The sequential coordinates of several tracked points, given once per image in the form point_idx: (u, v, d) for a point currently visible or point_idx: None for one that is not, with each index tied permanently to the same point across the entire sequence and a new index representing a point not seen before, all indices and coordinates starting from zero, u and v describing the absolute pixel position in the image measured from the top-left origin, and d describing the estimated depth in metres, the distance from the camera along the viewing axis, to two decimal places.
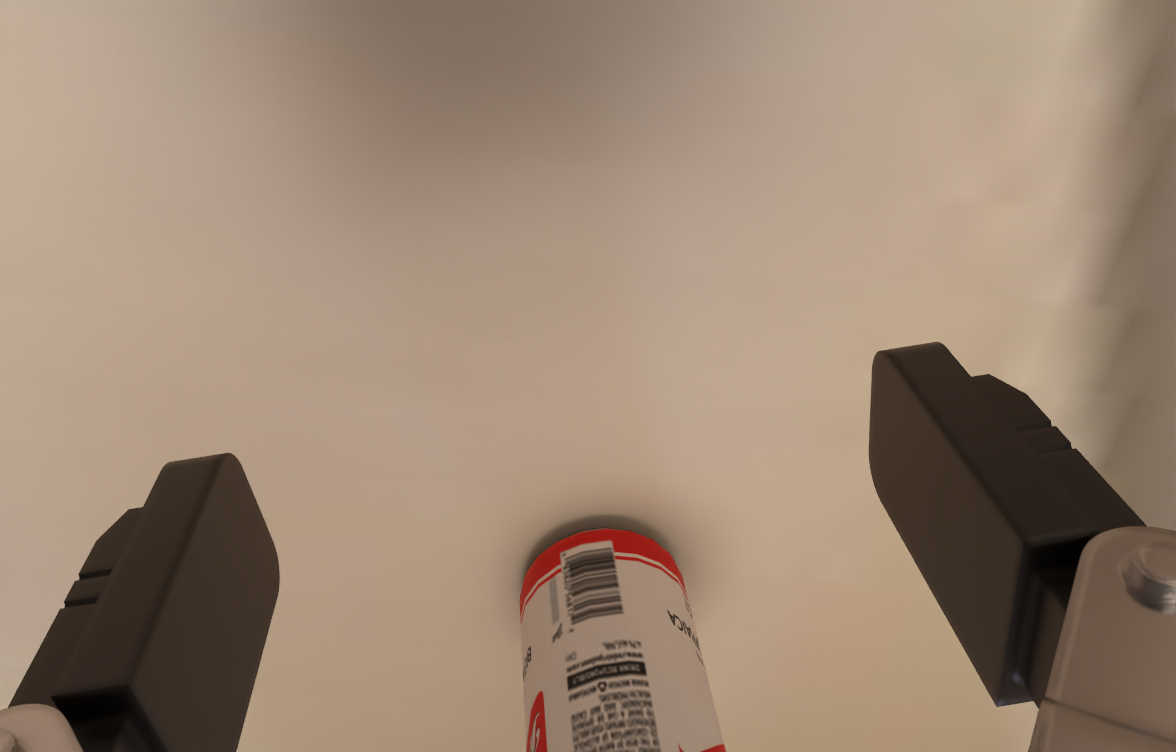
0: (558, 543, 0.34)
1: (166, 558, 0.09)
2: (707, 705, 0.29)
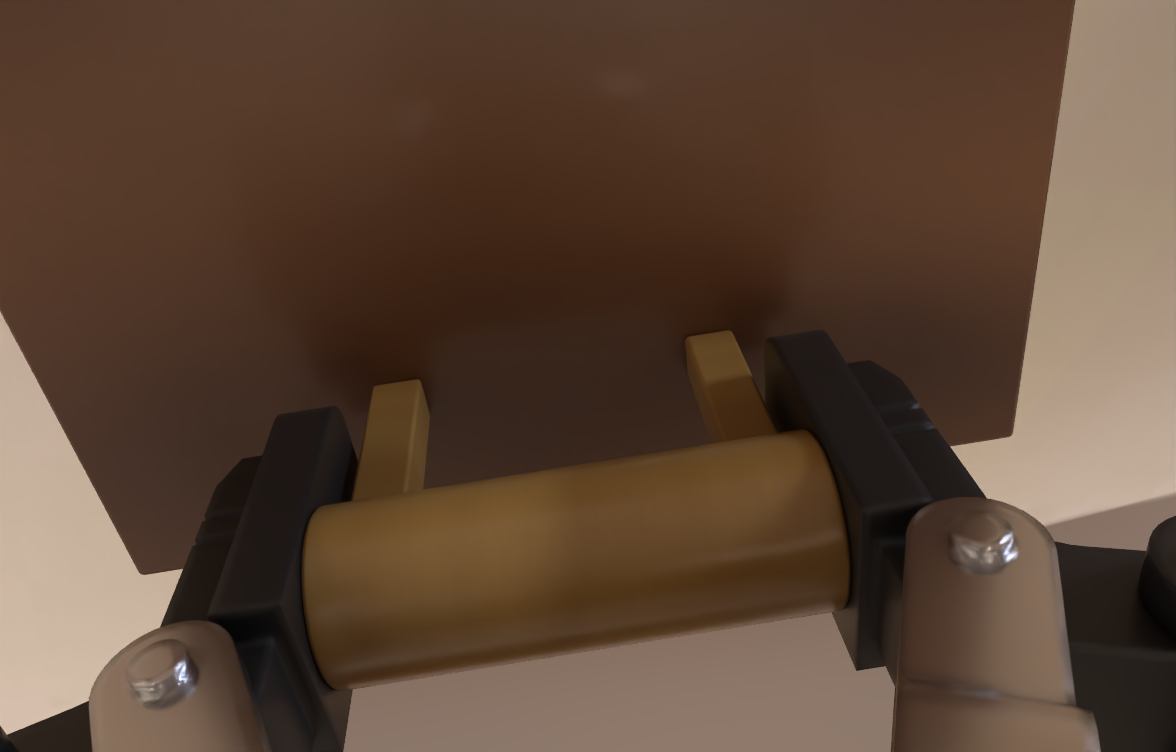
0: None
1: (294, 497, 0.10)
2: None
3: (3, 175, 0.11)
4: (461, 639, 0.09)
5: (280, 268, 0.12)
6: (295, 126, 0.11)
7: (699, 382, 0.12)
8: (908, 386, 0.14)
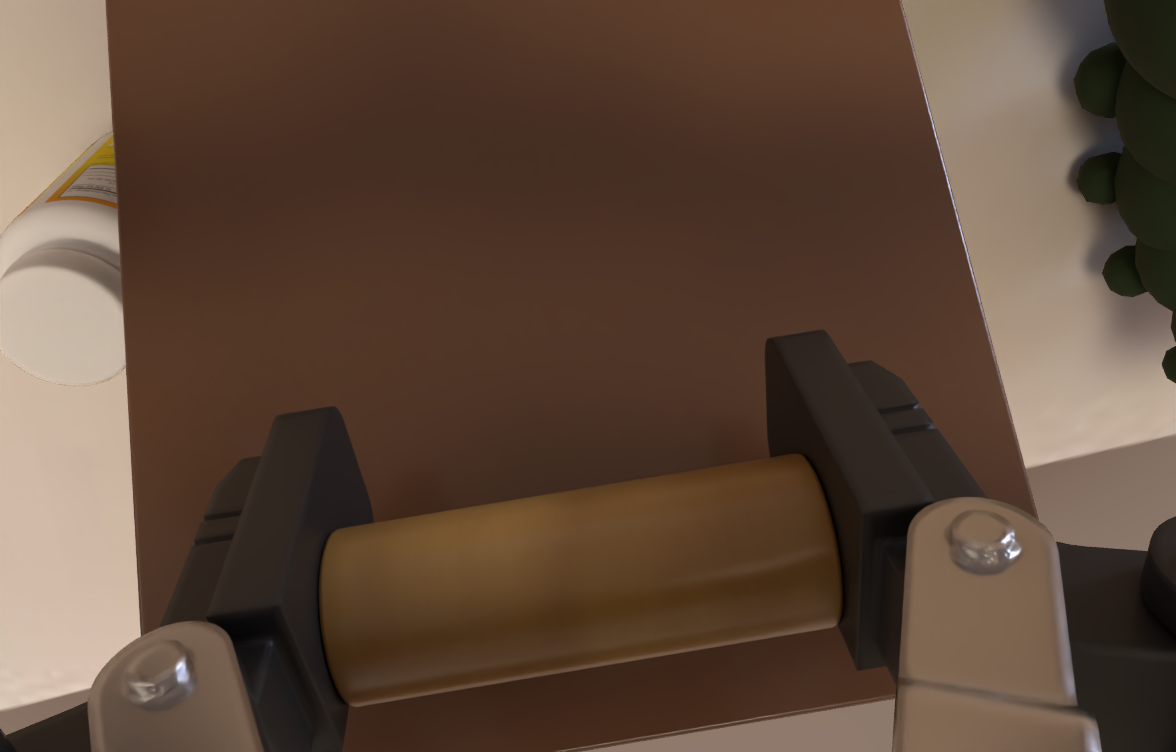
0: None
1: (293, 498, 0.10)
2: None
3: (179, 388, 0.15)
4: (459, 590, 0.10)
5: (362, 466, 0.15)
6: (394, 351, 0.15)
7: None
8: None
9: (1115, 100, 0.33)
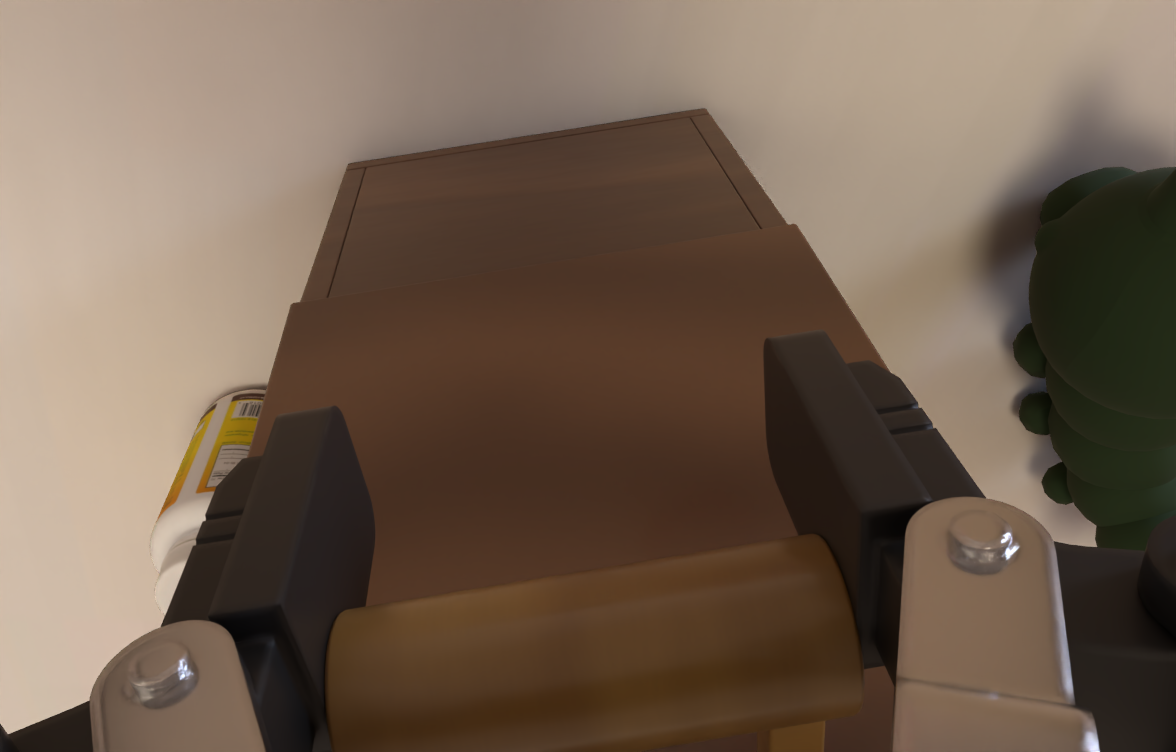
0: None
1: (294, 497, 0.10)
2: None
3: None
4: (466, 618, 0.10)
5: None
6: None
7: (757, 745, 0.12)
8: None
9: (1045, 369, 0.41)
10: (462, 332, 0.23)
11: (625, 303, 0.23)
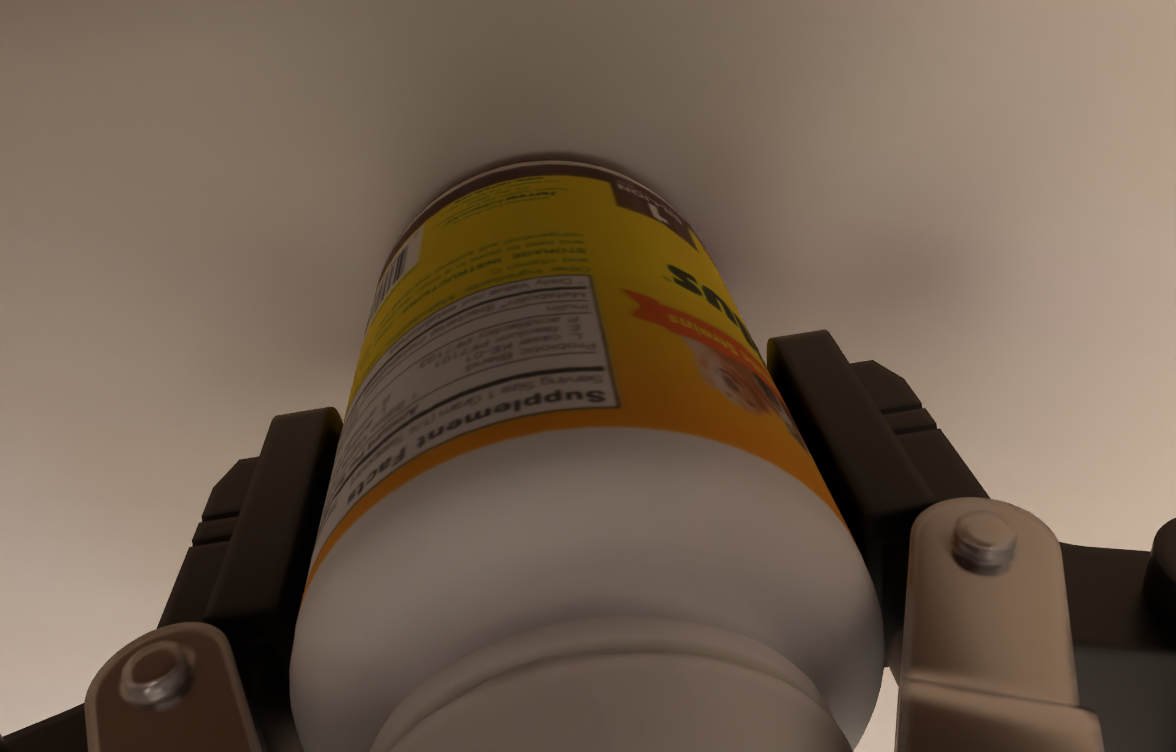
0: None
1: (291, 498, 0.10)
2: None
3: None
4: None
5: None
6: None
7: None
8: None
9: None
10: None
11: None
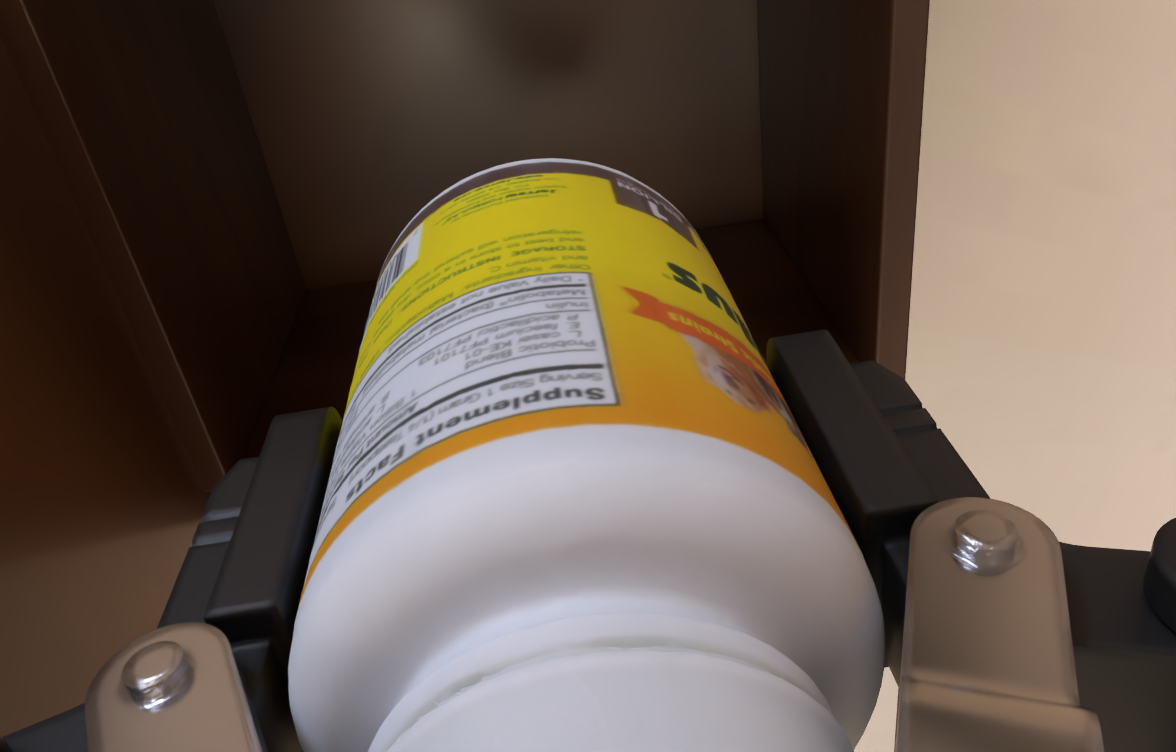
0: None
1: (291, 498, 0.10)
2: None
3: None
4: None
5: None
6: None
7: None
8: None
9: None
10: None
11: None
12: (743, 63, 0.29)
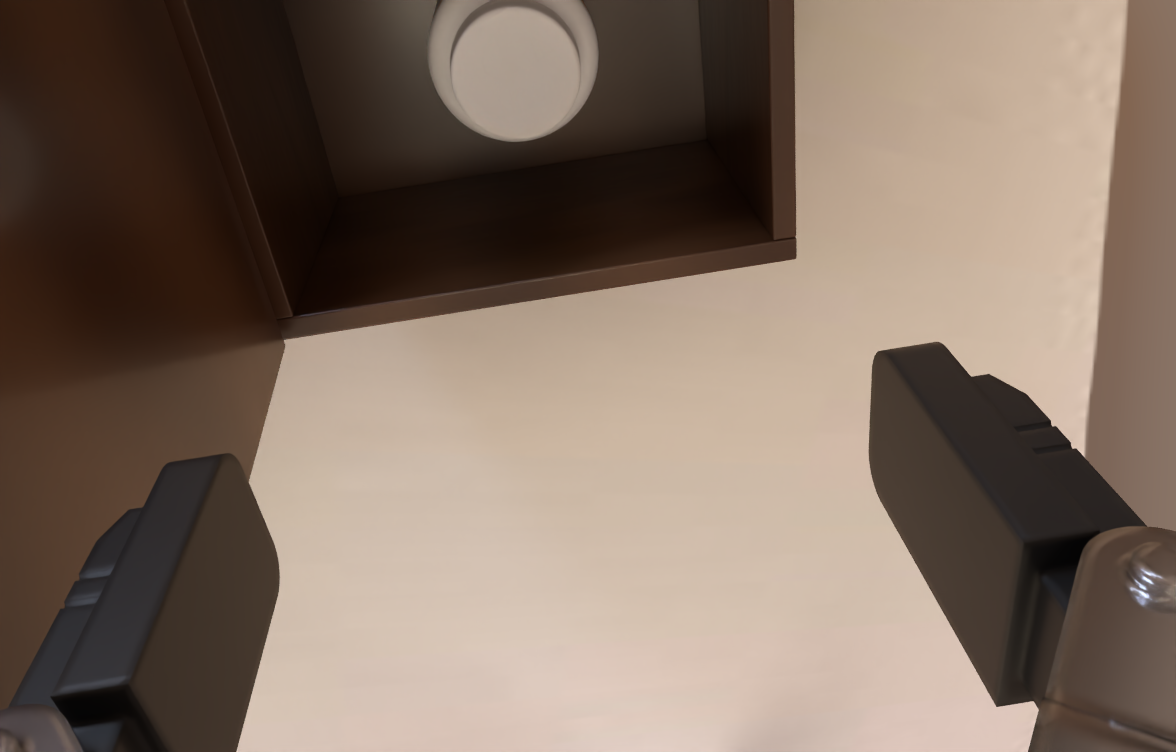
0: None
1: (166, 558, 0.09)
2: None
3: None
4: None
5: None
6: None
7: None
8: None
9: None
10: None
11: None
12: (686, 10, 0.37)
